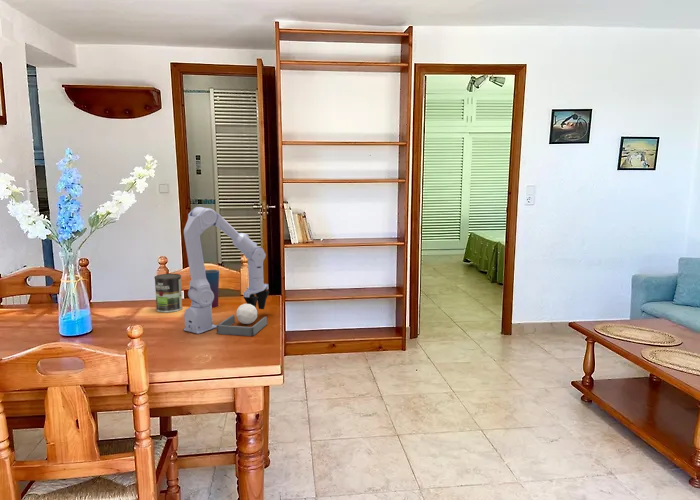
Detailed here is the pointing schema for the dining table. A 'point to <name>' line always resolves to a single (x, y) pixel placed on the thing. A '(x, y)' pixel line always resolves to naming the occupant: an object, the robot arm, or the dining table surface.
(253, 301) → the robot arm
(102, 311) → the dining table surface
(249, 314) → the geometric ball
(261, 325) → the tray
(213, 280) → the cup
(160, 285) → the coffee can
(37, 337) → the dining table surface
